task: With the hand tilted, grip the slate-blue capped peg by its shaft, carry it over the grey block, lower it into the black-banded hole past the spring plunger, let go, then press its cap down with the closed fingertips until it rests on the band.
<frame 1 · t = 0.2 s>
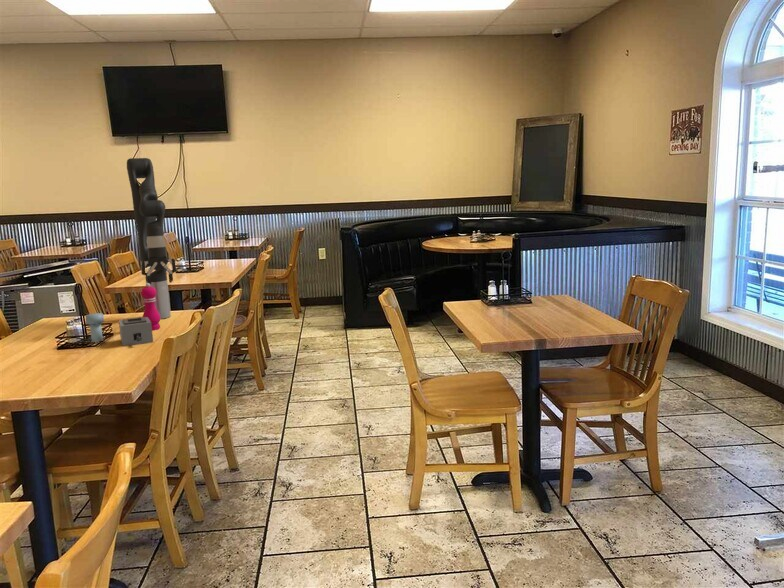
hand: (160, 283, 276), 18 cm above the table, tool pointing down, fingers open, 8 cm apart
plunger: (137, 336, 245), point 3 cm above the table, slide at 0.0 cm
pepper mill: (152, 329, 270), on the table
grey block: (136, 340, 251), on the table
peg: (97, 342, 250), on the table
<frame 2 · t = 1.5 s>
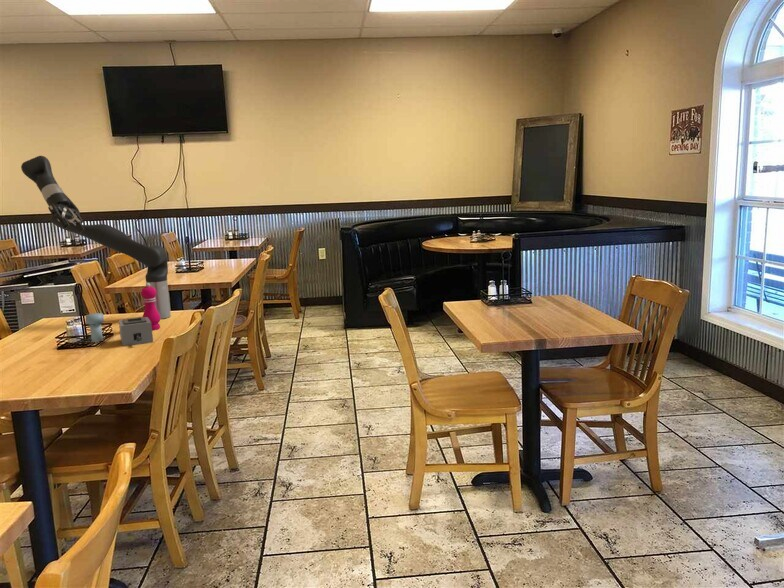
hand: (74, 229, 249), 44 cm above the table, tool tilted 40°, fingers open, 8 cm apart
nothing on the table moved.
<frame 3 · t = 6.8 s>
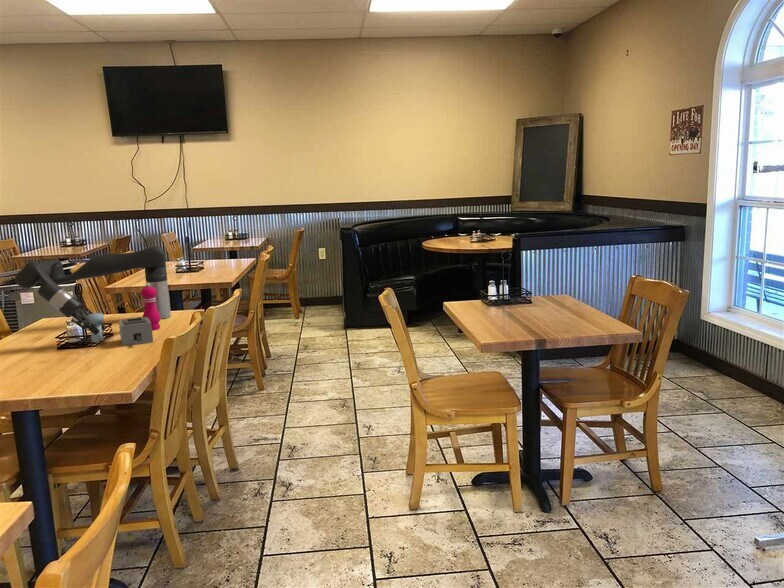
hand: (100, 330, 249), 5 cm above the table, tool tilted 45°, fingers closed on peg, 6 cm apart
peg: (97, 342, 250), on the table, touching gripper
everything else where it was.
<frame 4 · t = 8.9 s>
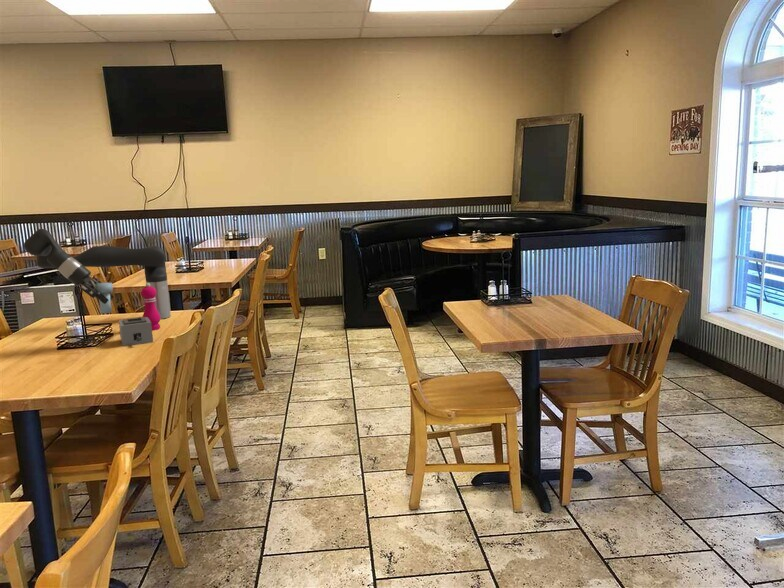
hand: (109, 300, 247), 17 cm above the table, tool tilted 45°, fingers closed on peg, 6 cm apart
peg: (106, 312, 247), point 12 cm above the table, touching gripper
everything else where it was.
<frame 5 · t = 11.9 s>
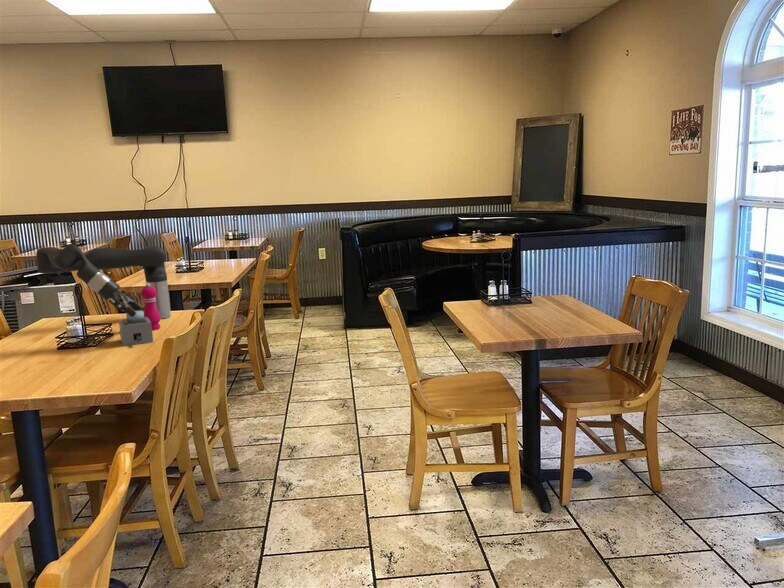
hand: (137, 312, 249), 11 cm above the table, tool tilted 45°, fingers open, 8 cm apart
plunger: (137, 336, 245), point 3 cm above the table, slide at 0.1 cm, touching peg
peg: (137, 339, 251), resting on grey block, plunger
everything else where it was.
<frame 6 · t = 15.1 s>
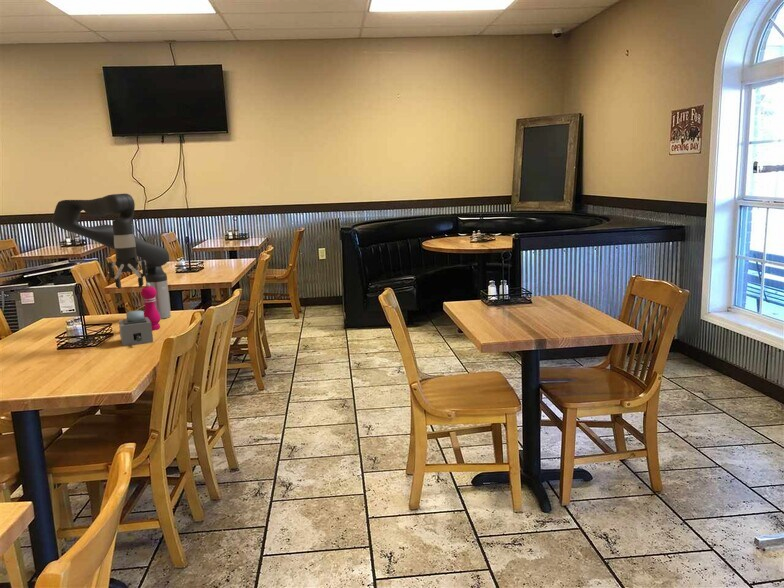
hand: (130, 287, 247), 22 cm above the table, tool pointing down, fingers open, 7 cm apart
nothing on the table moved.
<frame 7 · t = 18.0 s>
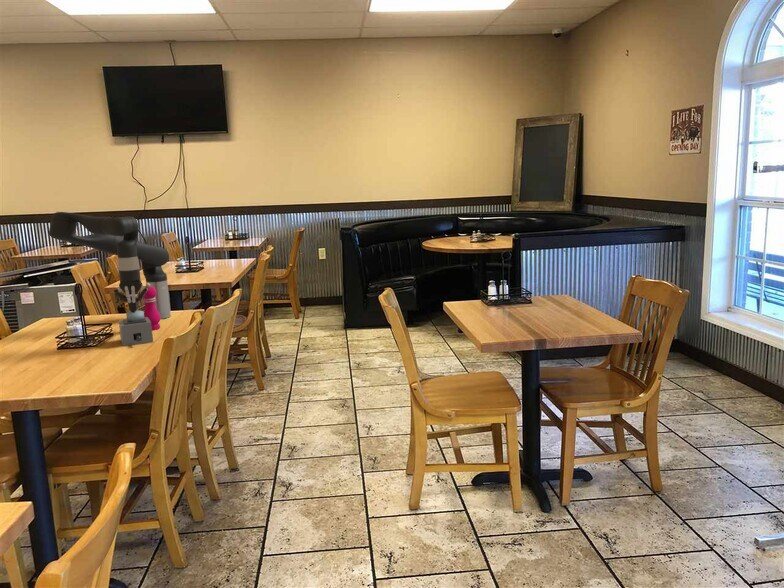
hand: (133, 311, 249), 12 cm above the table, tool pointing down, fingers closed
nothing on the table moved.
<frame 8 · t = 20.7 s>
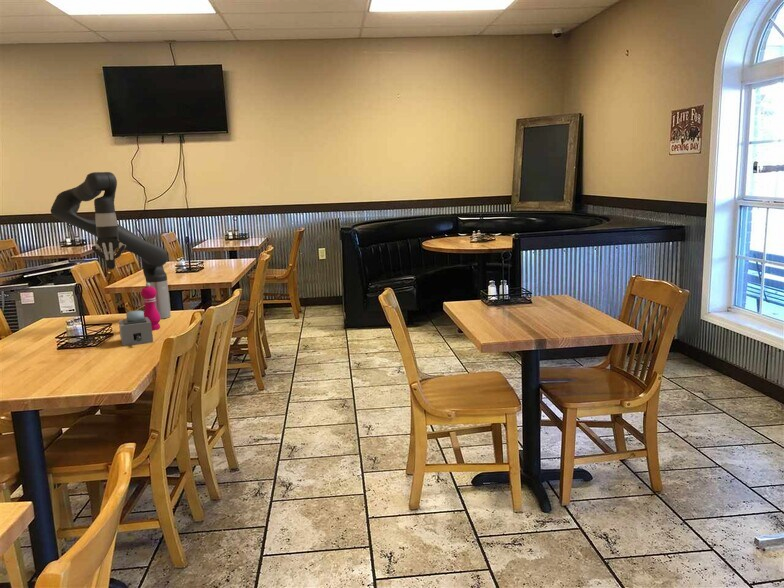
hand: (111, 269, 246), 29 cm above the table, tool pointing down, fingers closed
nothing on the table moved.
at the end: peg 0.5 cm off-centre on the grey block, point 0.3 cm above the grey block's base; peg tilted 0°; the gripper is holding nothing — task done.
